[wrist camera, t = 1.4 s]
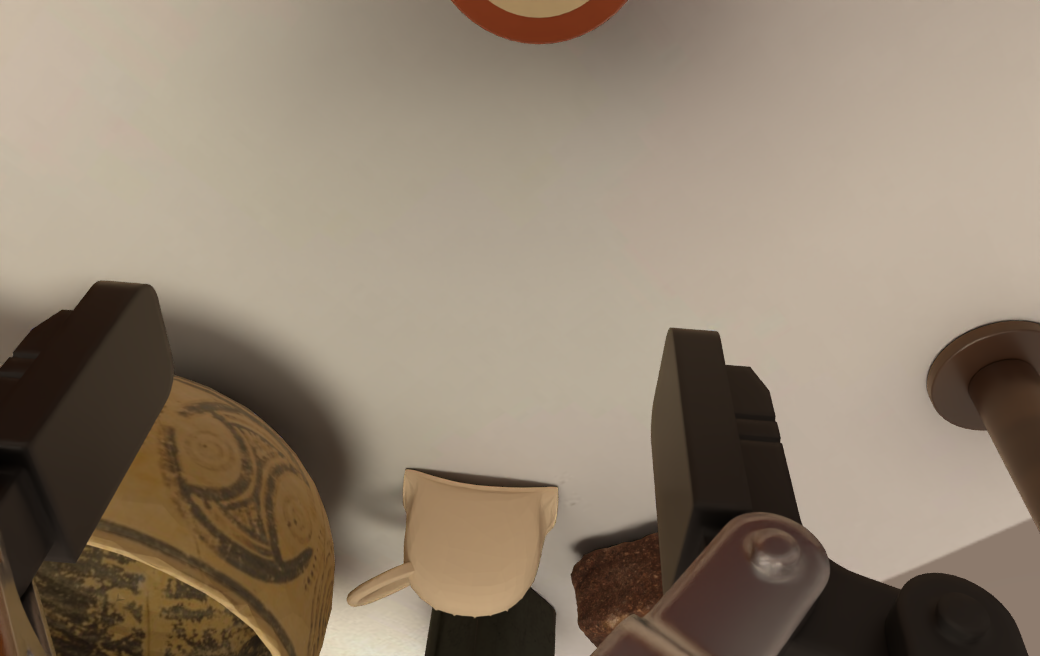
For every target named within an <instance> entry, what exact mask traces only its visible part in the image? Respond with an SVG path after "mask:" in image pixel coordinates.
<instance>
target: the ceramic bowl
mask: <svg viewBox="0 0 1040 656" xmlns="http://www.w3.org/2000/svg"><path fill="white" fill-rule="evenodd" d="M334 571H335V560H334V546H333V540H332V535H331V531H330V527H329V522H328V518H327V514H326V511H325V509H324V506H323V504H322V501H321V498H320V496H319V493H318V491H317V488H316V486H315V483H314V482H313V480H312V479H311V477H310V475H309V474H308V472H307V471H306V469H305V468H304V466H303V464H302V463H301V461H300V460H299V458H298V456H297V455H296V454H295V453H294V451H293V450H292V449H291V448H290V447H289V446H288V444H287V443H286V442H285V441H284V440H283V439H282V437H281V436H279V435H278V434H277V433H276V432H275V431H274V430H273V429H272V428H271V427H270V426H269V425H268V424H267V423H266V422H265V421H264V420H262V419H261V418H260V417H258V416H257V415H256V414H255V413H253V412H252V411H251V410H250V409H248V408H247V407H245V406H243V405H241V404H239V403H238V402H236V401H234V400H232V399H230V398H228V397H227V396H225V395H223V394H221V393H219V392H217V391H216V390H214V389H212V388H210V387H207V386H205V385H202V384H199V383H197V382H194V381H191V380H188V379H186V378H183V377H180V376H176V375H174V378H173V384H172V389H171V392H170V395H169V397H168V399H167V401H166V403H165V405H164V407H163V408H162V410H161V412H160V414H159V416H158V417H157V419H156V421H155V423H154V425H153V426H152V428H151V430H150V432H149V433H148V435H147V437H146V439H145V441H144V442H143V444H142V446H141V448H140V450H139V451H138V453H137V455H136V457H135V458H134V460H133V462H132V464H131V466H130V467H129V469H128V471H127V473H126V475H125V476H124V478H123V480H122V482H121V483H120V485H119V487H118V489H117V491H116V492H115V494H114V496H113V498H112V499H111V501H110V503H109V505H108V507H107V508H106V510H105V512H104V514H103V516H102V517H101V519H100V521H99V523H98V524H97V526H96V528H95V530H94V532H93V533H92V535H91V537H90V539H89V541H88V542H87V544H86V546H85V548H84V549H83V551H82V553H81V555H80V557H79V558H78V560H77V562H76V564H75V563H63V562H52V561H43V563H42V564H41V566H40V568H39V569H38V571H37V573H36V574H35V576H34V578H33V580H34V582H35V584H36V586H37V589H38V592H39V595H40V599H41V603H42V606H43V610H44V613H45V617H46V620H47V624H48V628H49V631H50V635H51V638H52V642H53V645H54V649H55V653H56V656H319V654H320V651H321V648H322V645H323V641H324V636H325V632H326V628H327V624H328V620H329V617H330V613H331V609H332V596H333V584H334Z"/></svg>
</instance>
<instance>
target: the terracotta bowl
mask: <svg viewBox="0 0 1040 656" xmlns="http://www.w3.org/2000/svg"><path fill="white" fill-rule="evenodd" d="M451 1H452V2H453V3H454V5H455V6H456V7H457V8H458V9H459V10H460V11H461V12H462V13H463V14H464V15H465V16H467V17H468V18H469V19H470V20H471V21H472V22H474V23H475V24H477V25H478V26H480V27H481V28H483V29H485V30H487V31H489V32H491V33H493V34H495V35H497V36H499V37H502V38H505V39H508V40H511V41H516V42H521V43H528V44H552V43H558V42H563V41H568V40H571V39H574V38H577V37H580V36H582V35H584V34H586V33H588V32H590V31H593V30H594V29H596V28H597V27H599V26H600V25H602V24H604V23H605V22H606V21H608V20H609V19H610V18H611V17H612V16H613V15H615V14H616V13H617V12H618V11H619V10H620V9H621V8H622V7H623V5H624V4H625V3H626V2H627V1H628V0H451Z"/></svg>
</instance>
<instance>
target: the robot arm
mask: <svg viewBox="0 0 1040 656" xmlns="http://www.w3.org/2000/svg"><path fill="white" fill-rule="evenodd" d="M173 378H174V363H173V357H172V353H171V349H170V345H169V341H168V337H167V333H166V329H165V325H164V321H163V317H162V313H161V309H160V305H159V301H158V297H157V294H156V292H155V290H154V288H153V287H152V286H151V285H149V284H139V283H127V282H114V281H98V282H96V283H95V284H94V285H93V286H92V287H91V288H90V289H89V291H88V292H87V293H86V295H85V296H84V297H83V298H82V300H81V301H80V302H79V304H78V305H77V306H76V307H75V309H74V310H73V311H72V310H61V311H59V312H58V313H56V314H55V315H53V316H52V317H50V318H49V319H47V320H45V321H44V322H42V323H41V324H39V325H38V326H36V327H35V328H33V329H32V330H31V331H30V332H29V334H28V335H27V336H26V337H25V338H24V340H23V341H22V342H21V343H20V345H19V346H18V347H17V348H16V349H15V351H14V352H13V357H9V358H8V359H7V360H6V362H5V363H4V364H3V365H2V367H1V368H0V656H56V653H55V649H54V645H53V642H52V638H51V635H50V631H49V628H48V624H47V620H46V617H45V613H44V610H43V606H42V603H41V599H40V595H39V592H38V589H37V586H36V584H35V582H34V580H33V578H34V576H35V574H36V573H37V571H38V569H39V568H40V566H41V564H42V563H43V561H52V562H63V563H75V564H76V562H77V560H78V558H79V557H80V555H81V553H82V551H83V549H84V548H85V546H86V544H87V542H88V541H89V539H90V537H91V535H92V533H93V532H94V530H95V528H96V526H97V524H98V523H99V521H100V519H101V517H102V516H103V514H104V512H105V510H106V508H107V507H108V505H109V503H110V501H111V499H112V498H113V496H114V494H115V492H116V491H117V489H118V487H119V485H120V483H121V482H122V480H123V478H124V476H125V475H126V473H127V471H128V469H129V467H130V466H131V464H132V462H133V460H134V458H135V457H136V455H137V453H138V451H139V450H140V448H141V446H142V444H143V442H144V441H145V439H146V437H147V435H148V433H149V432H150V430H151V428H152V426H153V425H154V423H155V421H156V419H157V417H158V416H159V414H160V412H161V410H162V408H163V407H164V405H165V403H166V401H167V399H168V397H169V395H170V392H171V389H172V384H173ZM775 417H776V416H775V412H774V408H773V404H772V400H771V396H770V392H769V390H768V389H767V387H766V386H765V385H764V384H763V382H762V381H761V380H760V379H759V377H758V376H757V375H756V374H755V372H754V371H753V370H752V369H751V367H745V366H733V365H725V360H724V355H723V350H722V344H721V339H720V335H719V333H718V332H717V331H707V330H694V329H682V328H669V330H668V333H667V336H666V341H665V346H664V351H663V356H662V361H661V366H660V371H659V376H658V381H657V386H656V391H655V396H654V402H653V409H652V419H651V444H652V457H653V470H654V483H655V496H656V509H657V522H658V535H659V548H660V560H661V573H662V586H663V597H662V598H661V599H660V600H659V601H658V602H657V604H656V605H655V606H654V607H653V608H652V609H651V610H650V611H649V612H648V613H647V614H646V615H645V616H644V617H642V618H640V617H639V616H638V615H636V614H632V615H630V616H628V617H627V618H625V619H624V620H623V621H622V622H621V623H619V624H618V625H617V626H616V628H615V629H614V630H613V631H612V632H611V633H610V634H609V635H608V636H607V637H606V639H605V640H604V641H603V642H602V643H601V644H600V645H599V646H598V647H597V649H596V650H595V651H594V652H593V653H592V654H591V655H590V656H1028V653H1027V650H1026V648H1025V645H1024V642H1023V640H1022V637H1021V634H1020V632H1019V629H1018V627H1017V625H1016V623H1015V621H1014V619H1013V618H1012V616H1011V615H1010V613H1009V612H1008V610H1007V609H1006V608H1005V607H1004V606H1003V605H1002V604H1001V603H1000V602H999V601H998V600H997V599H996V598H995V597H994V596H992V595H991V594H990V593H989V592H987V591H986V590H984V589H983V588H981V587H979V586H978V585H976V584H974V583H972V582H970V581H968V580H966V579H963V578H960V577H957V576H954V575H949V574H943V573H927V574H922V575H918V576H916V577H914V578H912V579H910V580H909V581H908V582H907V583H906V584H905V585H904V586H903V588H902V589H898V588H895V587H892V586H889V585H887V584H884V583H881V582H878V581H875V580H873V579H870V578H867V577H864V576H861V575H859V574H856V573H854V572H851V571H849V570H847V569H845V568H843V567H841V566H840V565H838V564H836V563H835V562H833V561H832V560H831V559H829V558H828V556H827V554H826V551H825V549H824V548H823V546H822V544H821V543H820V542H819V540H818V539H817V538H816V537H815V536H814V535H813V534H812V533H811V532H810V531H809V530H808V529H806V528H805V527H803V526H802V523H801V520H800V516H799V512H798V508H797V503H796V499H795V495H794V491H793V487H792V483H791V479H790V474H789V470H788V466H787V462H786V458H785V454H784V450H783V445H782V443H780V439H781V437H780V433H779V429H778V425H777V422H775Z"/></svg>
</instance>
